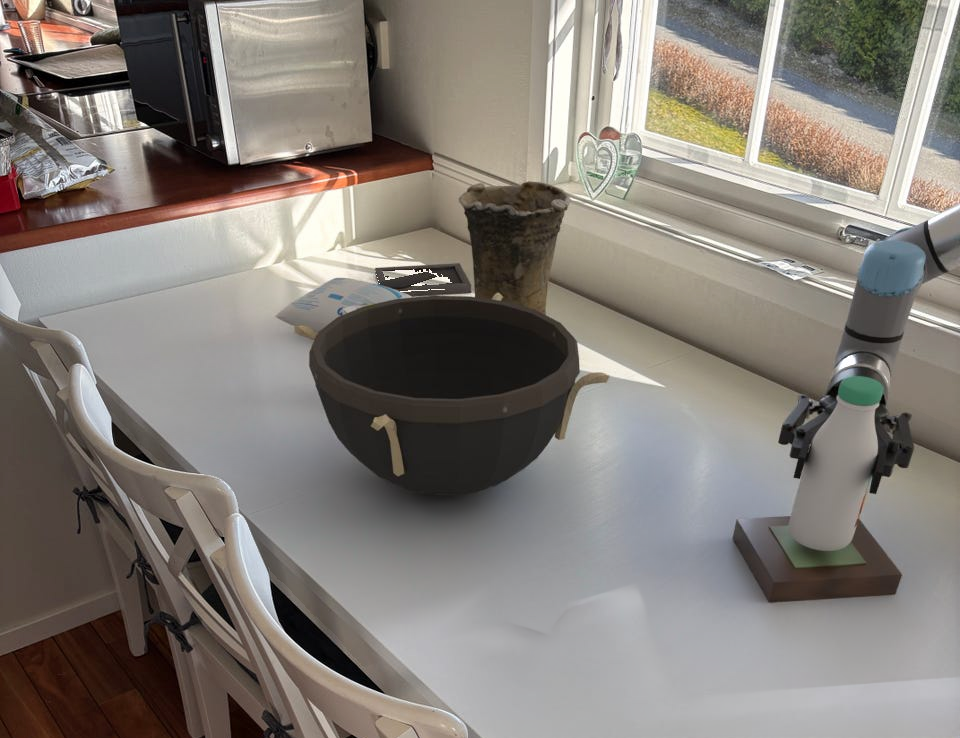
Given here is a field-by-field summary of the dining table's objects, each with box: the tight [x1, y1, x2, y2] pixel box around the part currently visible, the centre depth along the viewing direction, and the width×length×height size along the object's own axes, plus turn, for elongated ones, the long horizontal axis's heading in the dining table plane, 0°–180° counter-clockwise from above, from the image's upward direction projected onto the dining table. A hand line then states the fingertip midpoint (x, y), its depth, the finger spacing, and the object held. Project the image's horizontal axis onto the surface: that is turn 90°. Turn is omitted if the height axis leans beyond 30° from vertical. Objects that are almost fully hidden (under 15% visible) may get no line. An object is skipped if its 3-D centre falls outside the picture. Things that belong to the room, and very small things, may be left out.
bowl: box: [293, 293, 610, 496], centre depth 130 cm, size 35×35×20 cm
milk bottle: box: [789, 376, 883, 551], centre depth 112 cm, size 8×8×20 cm
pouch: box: [274, 277, 413, 334], centre depth 175 cm, size 8×19×20 cm
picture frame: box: [374, 262, 472, 297], centre depth 196 cm, size 13×2×18 cm
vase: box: [458, 180, 572, 315], centre depth 163 cm, size 18×18×27 cm
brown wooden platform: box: [732, 515, 903, 603], centre depth 120 cm, size 16×14×3 cm
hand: (837, 475), depth 107 cm, fingers closed on milk bottle, 8 cm apart
